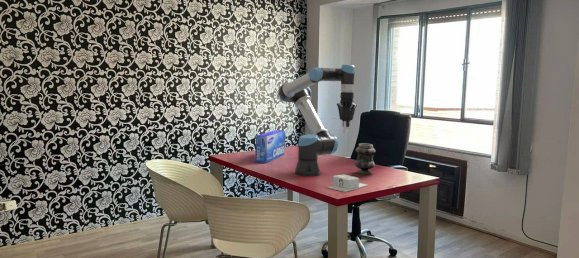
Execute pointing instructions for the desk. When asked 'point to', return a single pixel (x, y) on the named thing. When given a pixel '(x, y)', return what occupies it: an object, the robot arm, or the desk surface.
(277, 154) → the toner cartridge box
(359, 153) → the apothecary jar
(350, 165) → the desk surface
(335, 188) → the mat
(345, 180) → the ink box
